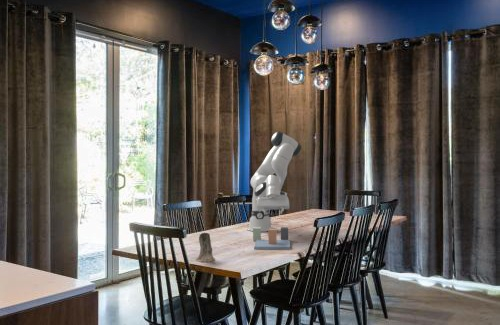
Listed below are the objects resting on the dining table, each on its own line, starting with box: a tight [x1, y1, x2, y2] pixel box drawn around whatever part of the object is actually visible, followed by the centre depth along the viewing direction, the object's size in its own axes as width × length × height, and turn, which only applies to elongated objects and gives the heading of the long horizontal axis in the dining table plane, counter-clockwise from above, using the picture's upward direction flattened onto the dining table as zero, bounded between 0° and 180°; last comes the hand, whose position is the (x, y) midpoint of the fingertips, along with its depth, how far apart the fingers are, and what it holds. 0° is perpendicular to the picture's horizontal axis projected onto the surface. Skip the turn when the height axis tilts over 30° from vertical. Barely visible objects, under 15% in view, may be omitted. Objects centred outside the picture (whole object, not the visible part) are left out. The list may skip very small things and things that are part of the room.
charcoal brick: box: [280, 226, 289, 240], centre depth 270 cm, size 4×4×8 cm
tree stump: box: [195, 232, 216, 263], centre depth 224 cm, size 10×10×13 cm
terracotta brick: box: [267, 228, 278, 244], centre depth 256 cm, size 4×4×8 cm
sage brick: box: [252, 227, 262, 242], centre depth 272 cm, size 4×4×8 cm
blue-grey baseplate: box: [253, 239, 291, 250], centre depth 256 cm, size 20×20×2 cm
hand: (273, 214), depth 267 cm, fingers open, 8 cm apart
